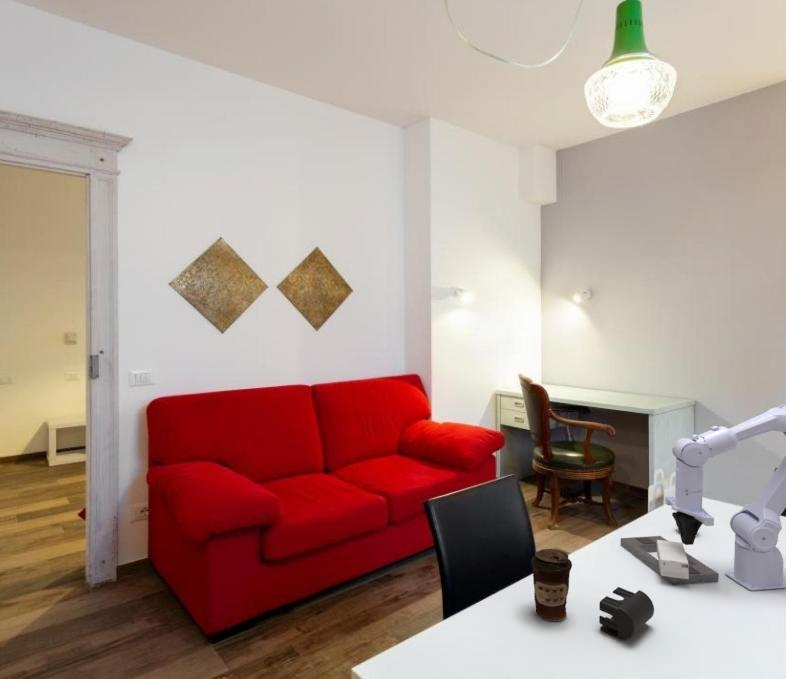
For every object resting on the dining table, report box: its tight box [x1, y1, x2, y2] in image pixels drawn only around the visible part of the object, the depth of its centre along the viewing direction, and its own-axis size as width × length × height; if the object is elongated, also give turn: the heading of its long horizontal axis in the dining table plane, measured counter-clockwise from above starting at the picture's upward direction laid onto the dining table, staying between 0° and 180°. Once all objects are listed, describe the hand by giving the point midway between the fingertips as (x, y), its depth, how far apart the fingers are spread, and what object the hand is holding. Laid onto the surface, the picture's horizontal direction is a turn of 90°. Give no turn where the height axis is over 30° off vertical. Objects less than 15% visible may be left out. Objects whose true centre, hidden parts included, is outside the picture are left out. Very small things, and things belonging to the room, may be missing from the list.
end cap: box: [598, 586, 655, 641], centre depth 105 cm, size 10×7×7 cm
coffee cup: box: [530, 548, 573, 622], centre depth 110 cm, size 9×8×13 cm
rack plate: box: [620, 535, 720, 586], centre depth 135 cm, size 12×22×2 cm, turn 7°
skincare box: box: [656, 540, 689, 579], centre depth 128 cm, size 6×4×12 cm
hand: (687, 543), depth 126 cm, fingers closed
